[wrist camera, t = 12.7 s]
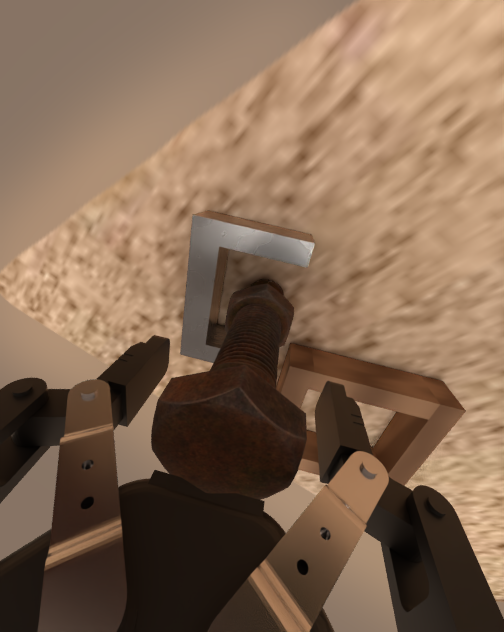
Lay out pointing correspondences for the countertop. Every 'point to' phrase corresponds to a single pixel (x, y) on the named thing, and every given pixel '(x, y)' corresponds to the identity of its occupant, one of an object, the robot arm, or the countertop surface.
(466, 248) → the countertop surface
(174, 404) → the bolt
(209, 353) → the block
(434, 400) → the square frame block
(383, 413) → the countertop surface
